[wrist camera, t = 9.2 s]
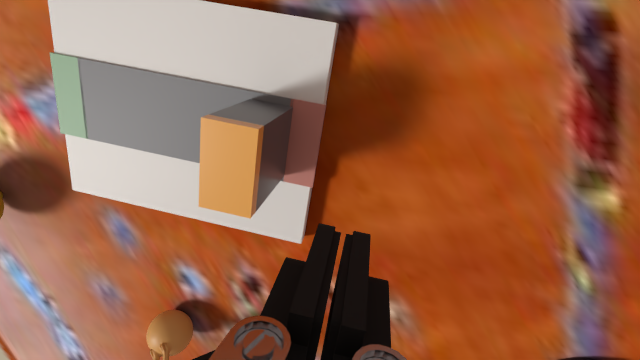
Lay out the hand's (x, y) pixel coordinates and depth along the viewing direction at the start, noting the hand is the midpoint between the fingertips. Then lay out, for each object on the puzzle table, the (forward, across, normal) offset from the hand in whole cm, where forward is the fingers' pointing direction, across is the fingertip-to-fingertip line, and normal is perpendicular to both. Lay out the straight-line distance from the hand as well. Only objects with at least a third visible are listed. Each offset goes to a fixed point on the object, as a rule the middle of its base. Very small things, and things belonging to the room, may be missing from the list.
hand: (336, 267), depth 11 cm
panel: (+15, +13, 0) cm, 20 cm away
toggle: (+13, +6, 0) cm, 15 cm away
